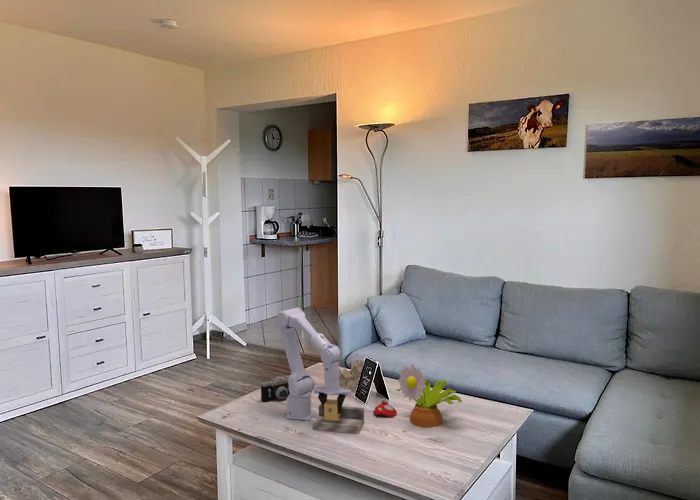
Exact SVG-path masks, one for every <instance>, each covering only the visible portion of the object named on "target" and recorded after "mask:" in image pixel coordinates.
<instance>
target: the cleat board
mask: <svg viewBox="0 0 700 500" xmlns="http://www.w3.org/2000/svg"><path fill="white" fill-rule="evenodd" d="M364 424H365V408H364V407H354V406H343V405H342V409H341V413H340V417H339V418H338V420H337V421H336V420H325V419H324V410H323V407H322V404H321V403H320V404H319V405H318V416H317V418H316V419H315V420H313V421H312V430H314V431H324V432H333V433H343V434H344V433H345V434H354V435H359V433H360V432H361V429H362V428H363V426H364Z"/></svg>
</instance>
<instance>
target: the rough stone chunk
mask: <svg viewBox="0 0 700 500" xmlns="http://www.w3.org/2000/svg"><path fill="white" fill-rule="evenodd" d="M364 362H365V361H364V359H362V358H361V359H359V358H356V360H355V363H354V362H352V363H351V366H350V367H351V368H350V370H348V369H347V368H346V367H344V368H343V370H342V369H341V368H339V388H343V389H348V390H351V393H356V392H355V391H356V389H357V385H358V382H359V378H360V375H361V371H362V368H363V365H365V363H364Z"/></svg>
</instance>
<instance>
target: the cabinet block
mask: <svg viewBox="0 0 700 500" xmlns="http://www.w3.org/2000/svg"><path fill="white" fill-rule="evenodd" d="M339 417H340V414H338V402H337V399H329V398H327V401H326V402H325V404H324V419H325V420H336V421H337V420H338V418H339Z"/></svg>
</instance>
